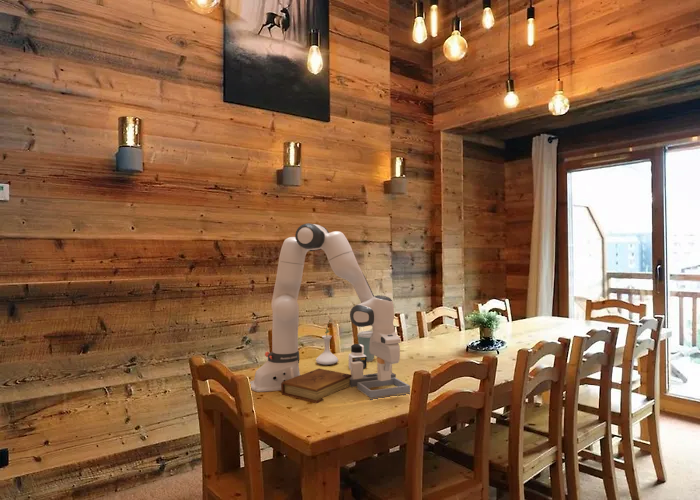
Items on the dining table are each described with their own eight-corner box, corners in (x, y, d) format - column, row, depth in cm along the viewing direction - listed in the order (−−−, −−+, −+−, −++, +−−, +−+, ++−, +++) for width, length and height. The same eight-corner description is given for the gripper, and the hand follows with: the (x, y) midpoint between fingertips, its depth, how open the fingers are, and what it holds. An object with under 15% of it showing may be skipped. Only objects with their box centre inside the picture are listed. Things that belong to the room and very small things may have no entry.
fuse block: (351, 389, 203) (351, 381, 203) (345, 384, 209) (344, 376, 209) (397, 382, 212) (397, 374, 212) (390, 378, 218) (390, 370, 218)
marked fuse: (381, 381, 196) (380, 359, 196) (377, 379, 199) (377, 357, 199) (390, 379, 198) (390, 357, 198) (387, 377, 201) (386, 356, 200)
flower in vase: (335, 367, 238) (335, 316, 238) (313, 365, 241) (312, 315, 240) (341, 360, 251) (341, 312, 250) (319, 359, 253) (319, 311, 253)
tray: (370, 400, 189) (370, 391, 189) (357, 391, 201) (357, 382, 200) (409, 394, 196) (409, 385, 196) (394, 385, 208) (394, 377, 207)
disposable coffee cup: (353, 361, 249) (353, 332, 249) (362, 356, 259) (362, 328, 258) (372, 363, 244) (372, 334, 244) (381, 358, 254) (381, 330, 253)
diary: (317, 381, 216) (317, 368, 216) (351, 388, 205) (351, 374, 205) (281, 395, 197) (281, 380, 197) (316, 403, 186) (316, 388, 186)
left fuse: (353, 385, 206) (353, 363, 205) (350, 383, 208) (350, 362, 208) (363, 383, 207) (363, 362, 207) (360, 381, 210) (360, 361, 210)
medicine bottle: (352, 372, 229) (352, 346, 229) (348, 368, 236) (348, 343, 236) (366, 370, 231) (366, 345, 231) (362, 367, 238) (362, 342, 238)
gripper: (365, 332, 206) (365, 364, 206) (388, 341, 187) (388, 376, 188) (378, 330, 209) (379, 362, 209) (402, 339, 190) (402, 374, 190)
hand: (383, 369), depth 198 cm, fingers closed on marked fuse, 3 cm apart
